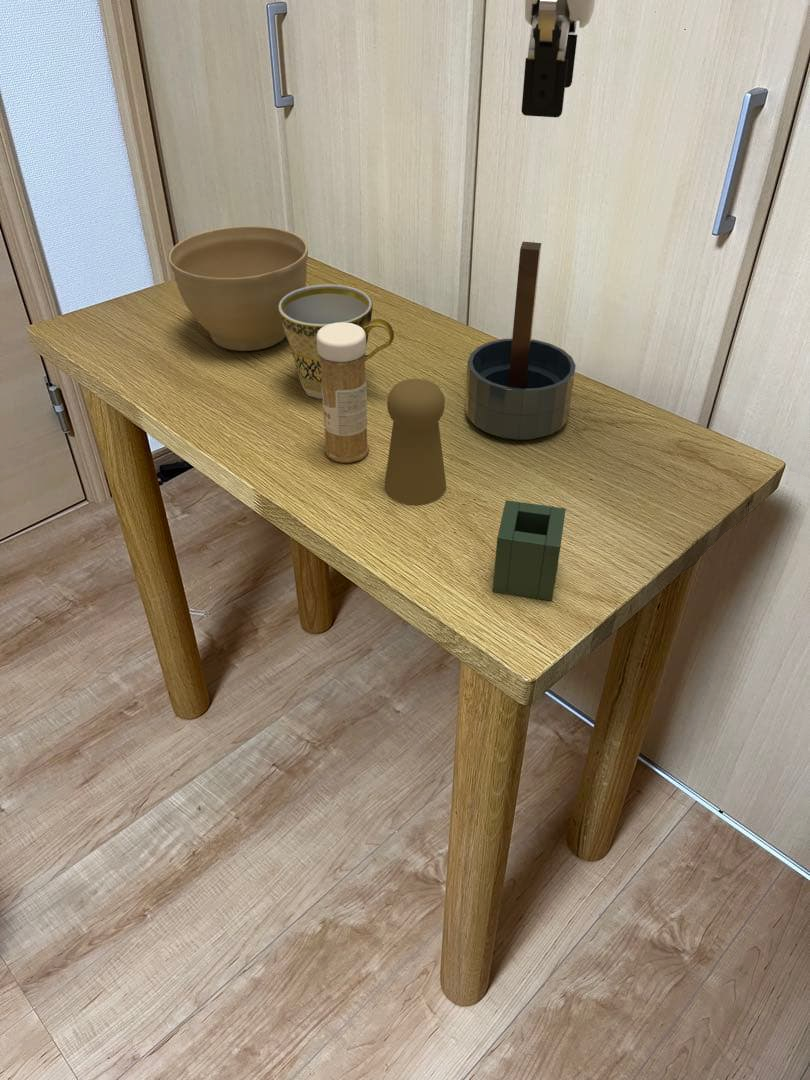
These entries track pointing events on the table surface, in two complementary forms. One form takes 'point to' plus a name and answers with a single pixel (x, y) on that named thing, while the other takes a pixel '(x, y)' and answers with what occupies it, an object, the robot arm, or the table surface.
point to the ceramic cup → (316, 310)
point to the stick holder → (528, 550)
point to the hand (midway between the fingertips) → (547, 100)
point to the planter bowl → (240, 282)
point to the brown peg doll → (415, 443)
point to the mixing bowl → (519, 391)
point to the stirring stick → (524, 313)
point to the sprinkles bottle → (344, 390)
